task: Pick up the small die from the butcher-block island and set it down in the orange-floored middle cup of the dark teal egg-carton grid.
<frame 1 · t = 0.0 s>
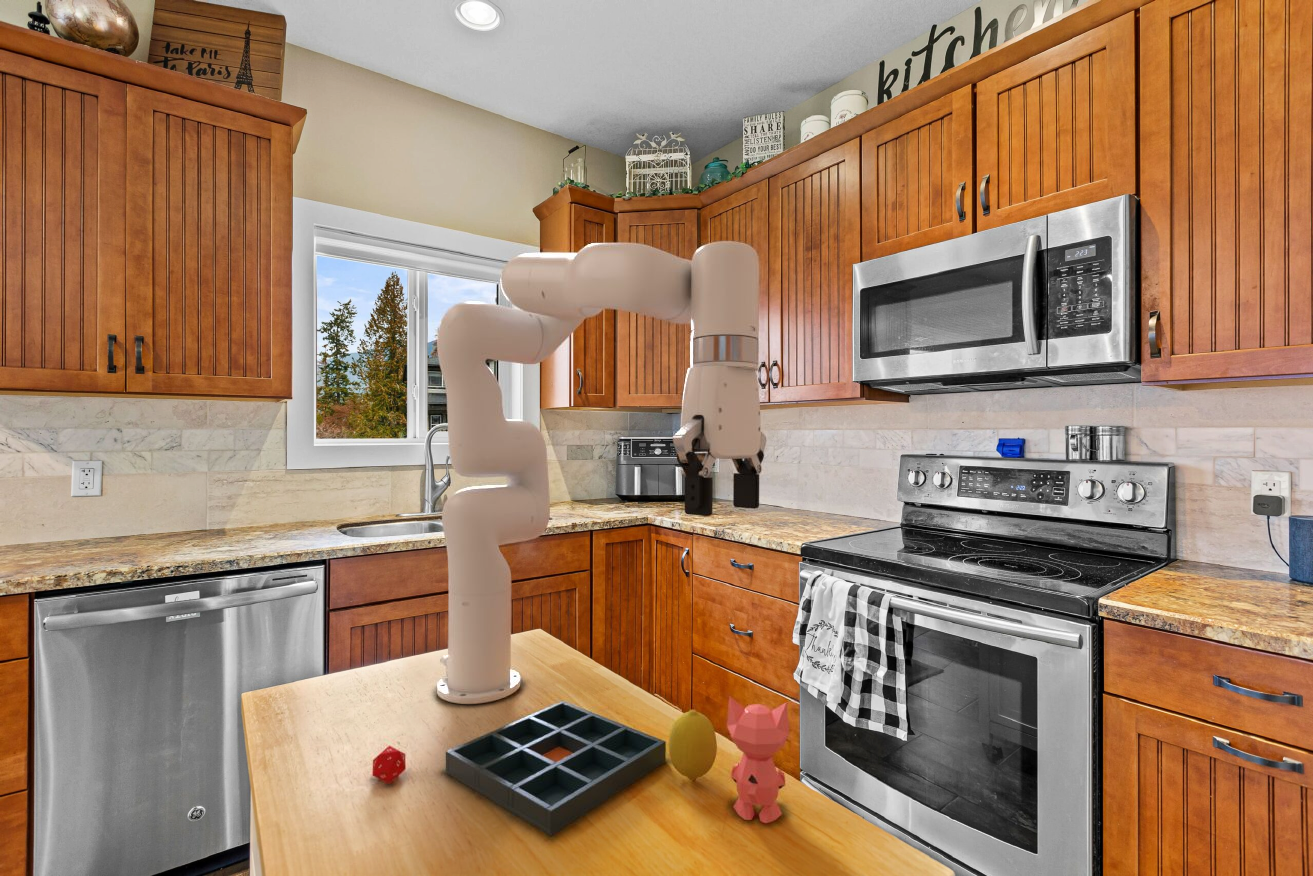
hand: (723, 511, 68), 31 cm above the countertop, tool pointing down, fingers open, 9 cm apart
cat figurine: (756, 816, 64), on the countertop
grid: (557, 767, 73), on the countertop
die: (389, 780, 70), on the countertop
lemon: (692, 781, 71), on the countertop
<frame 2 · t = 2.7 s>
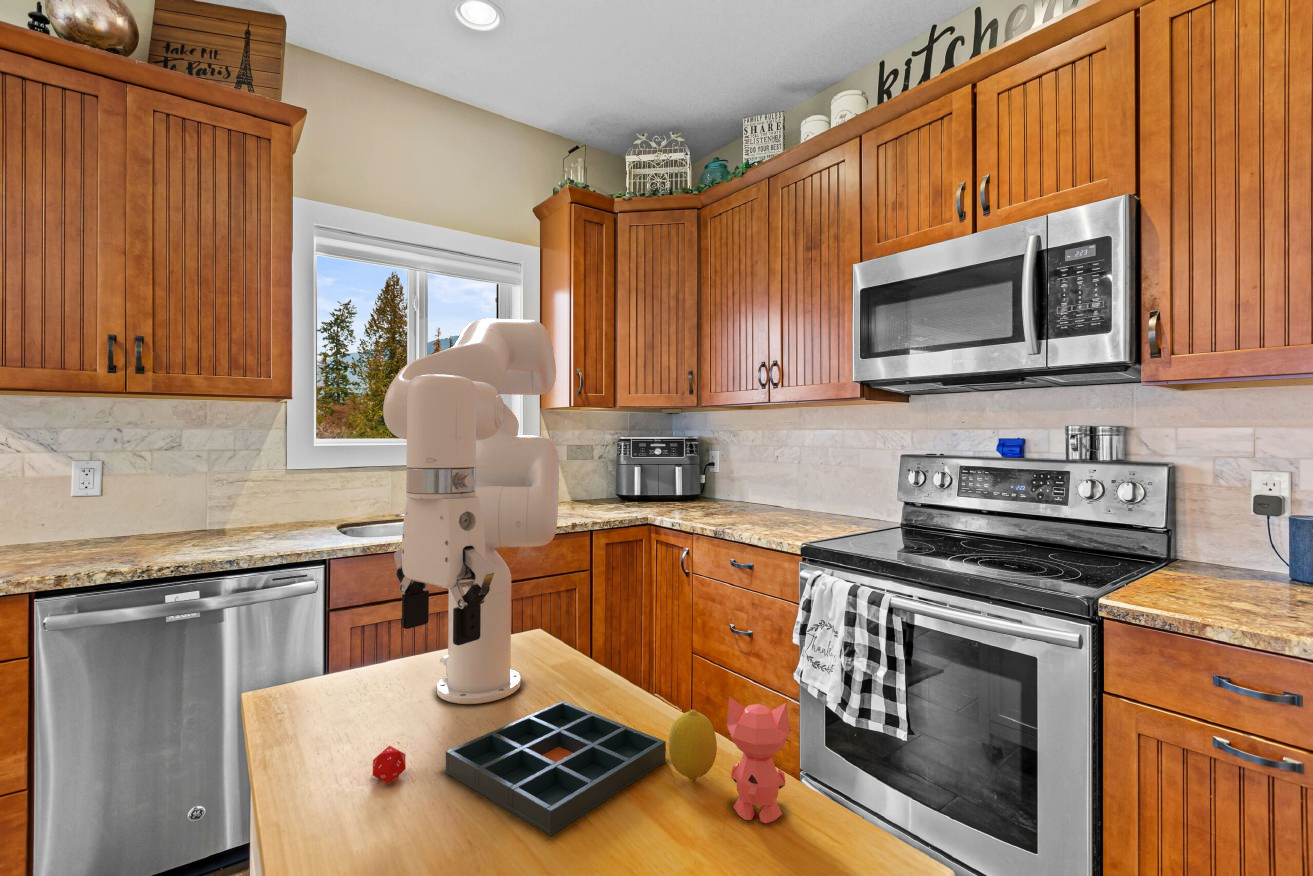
hand: (440, 633, 70), 17 cm above the countertop, tool pointing down, fingers open, 9 cm apart
nothing on the countertop moved.
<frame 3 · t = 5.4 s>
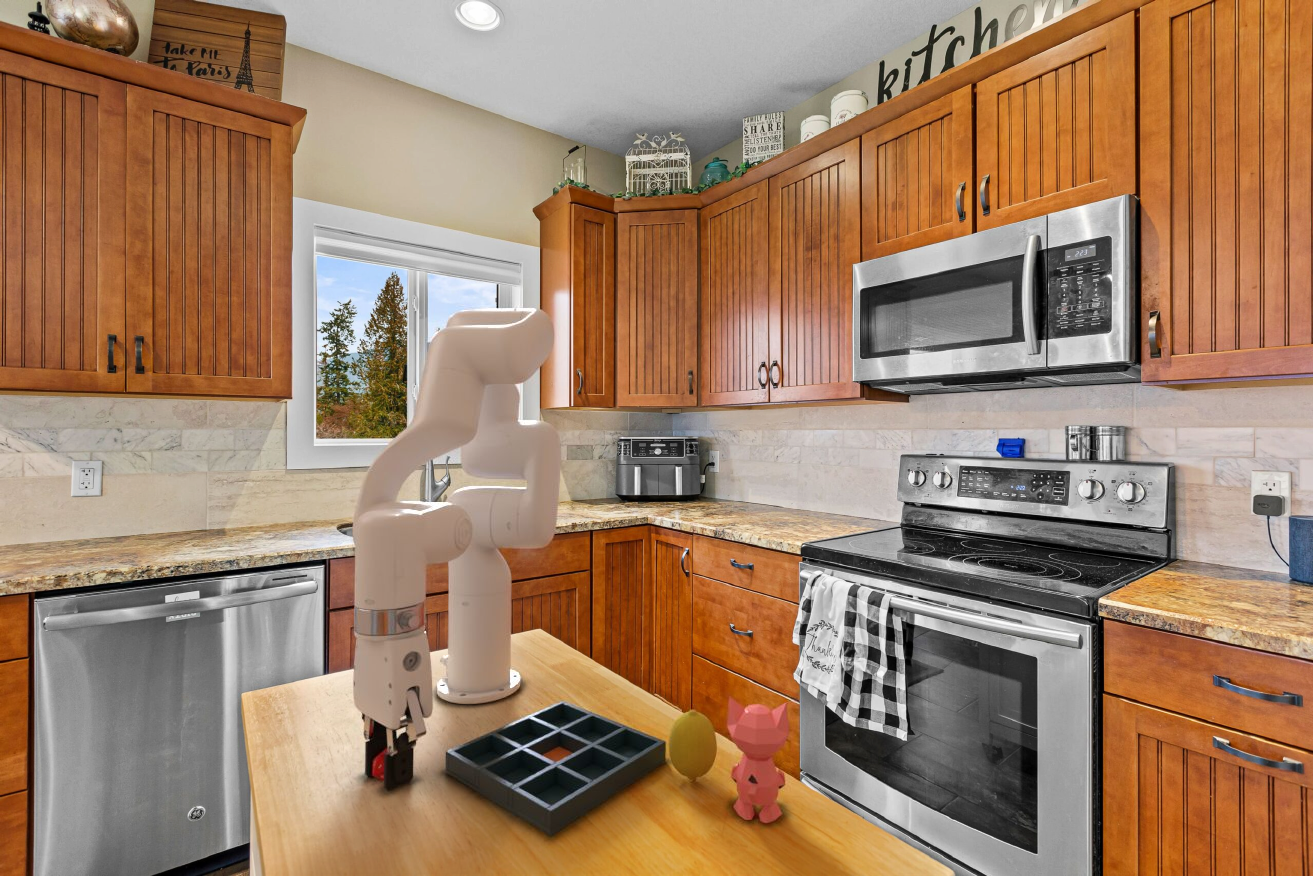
hand: (389, 776, 70), 0 cm above the countertop, tool pointing down, fingers closed on die, 3 cm apart
die: (389, 780, 70), on the countertop, touching gripper
everything else where it was.
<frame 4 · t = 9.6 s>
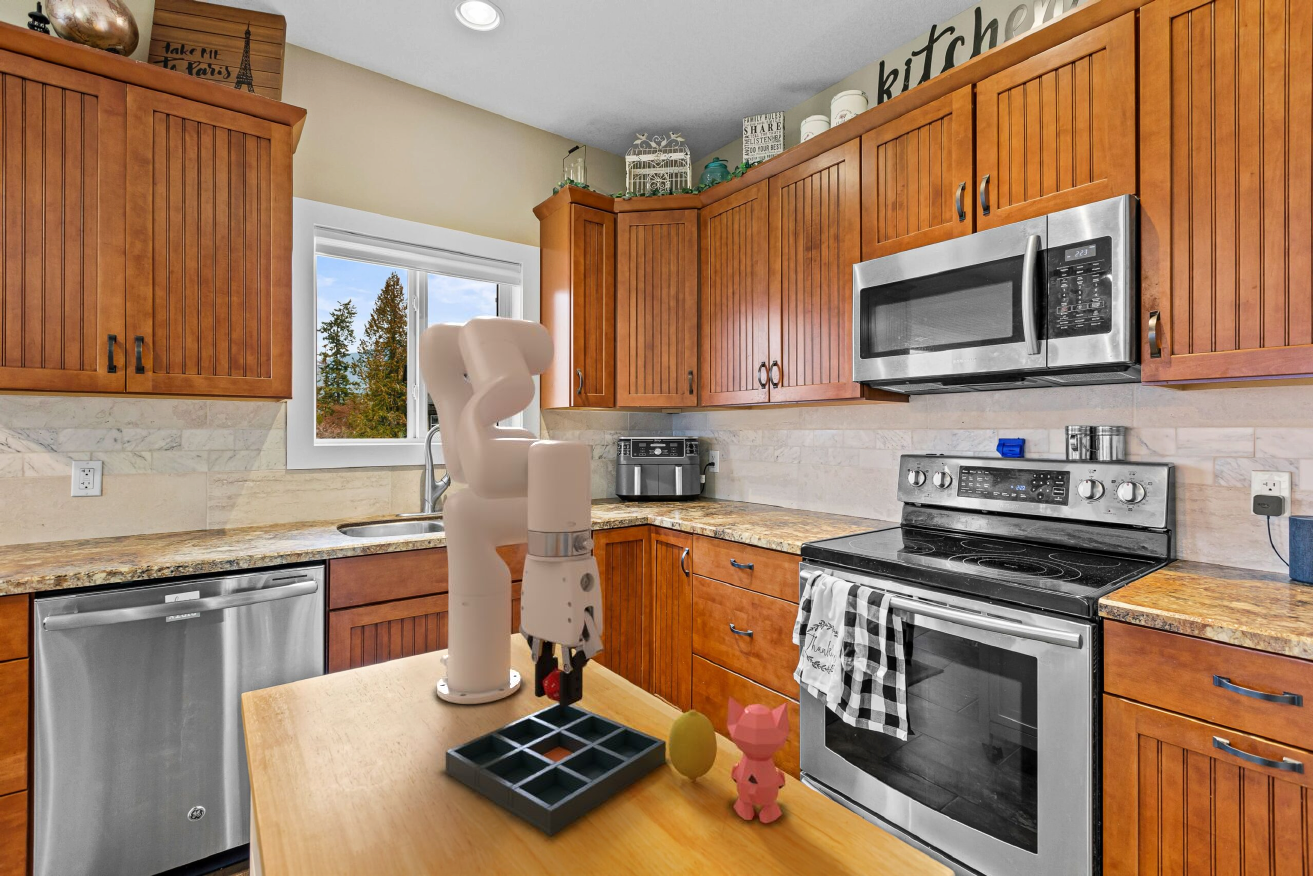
hand: (558, 696, 73), 8 cm above the countertop, tool pointing down, fingers closed on die, 3 cm apart
die: (558, 700, 73), point 8 cm above the countertop, touching gripper
everything else where it was.
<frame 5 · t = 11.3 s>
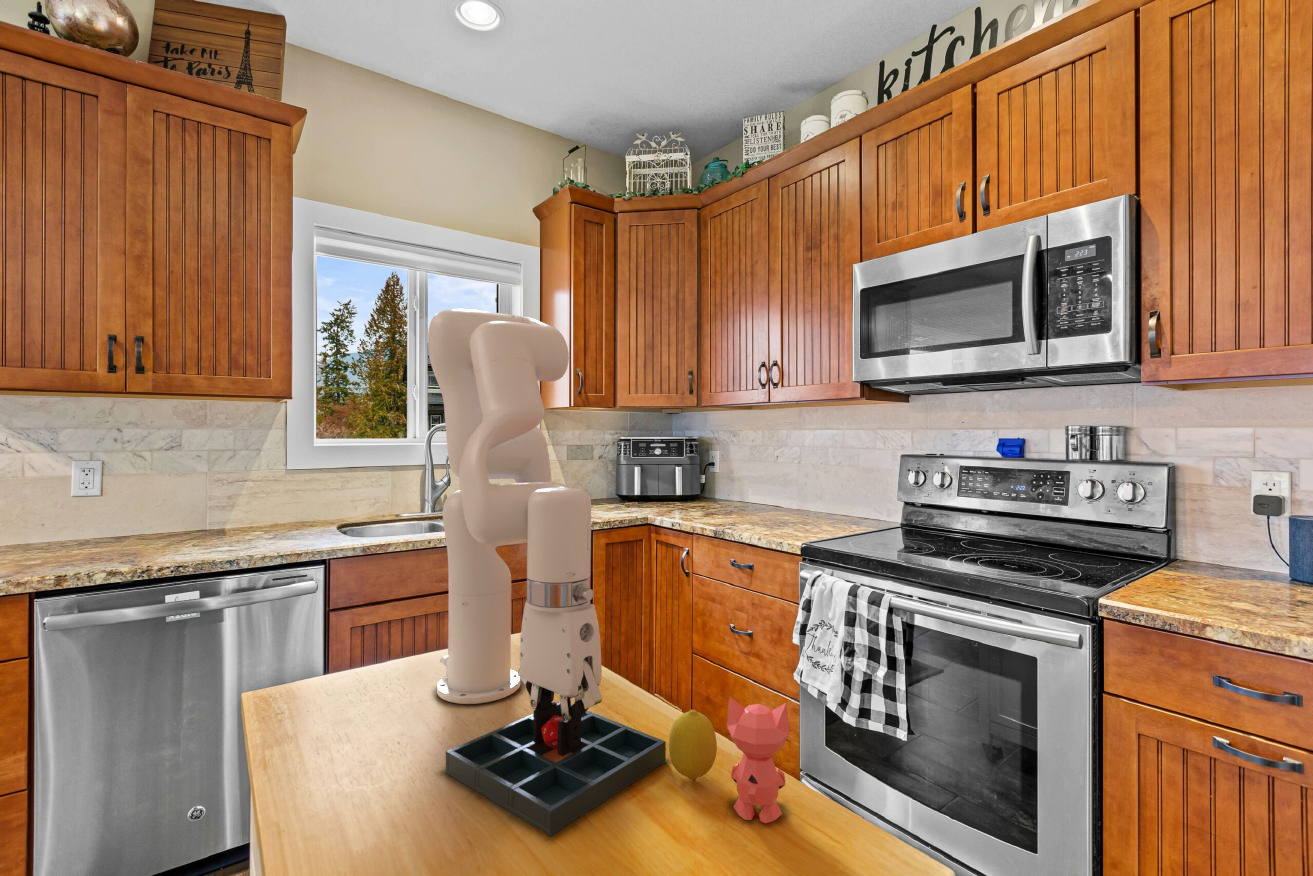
hand: (557, 743, 73), 3 cm above the countertop, tool pointing down, fingers closed on die, 3 cm apart
die: (556, 747, 73), point 2 cm above the countertop, touching gripper
everything else where it was.
when the fingers open (3 cm above the countertop, at t = 14.2 s): die drops 2 cm, resting on grid.
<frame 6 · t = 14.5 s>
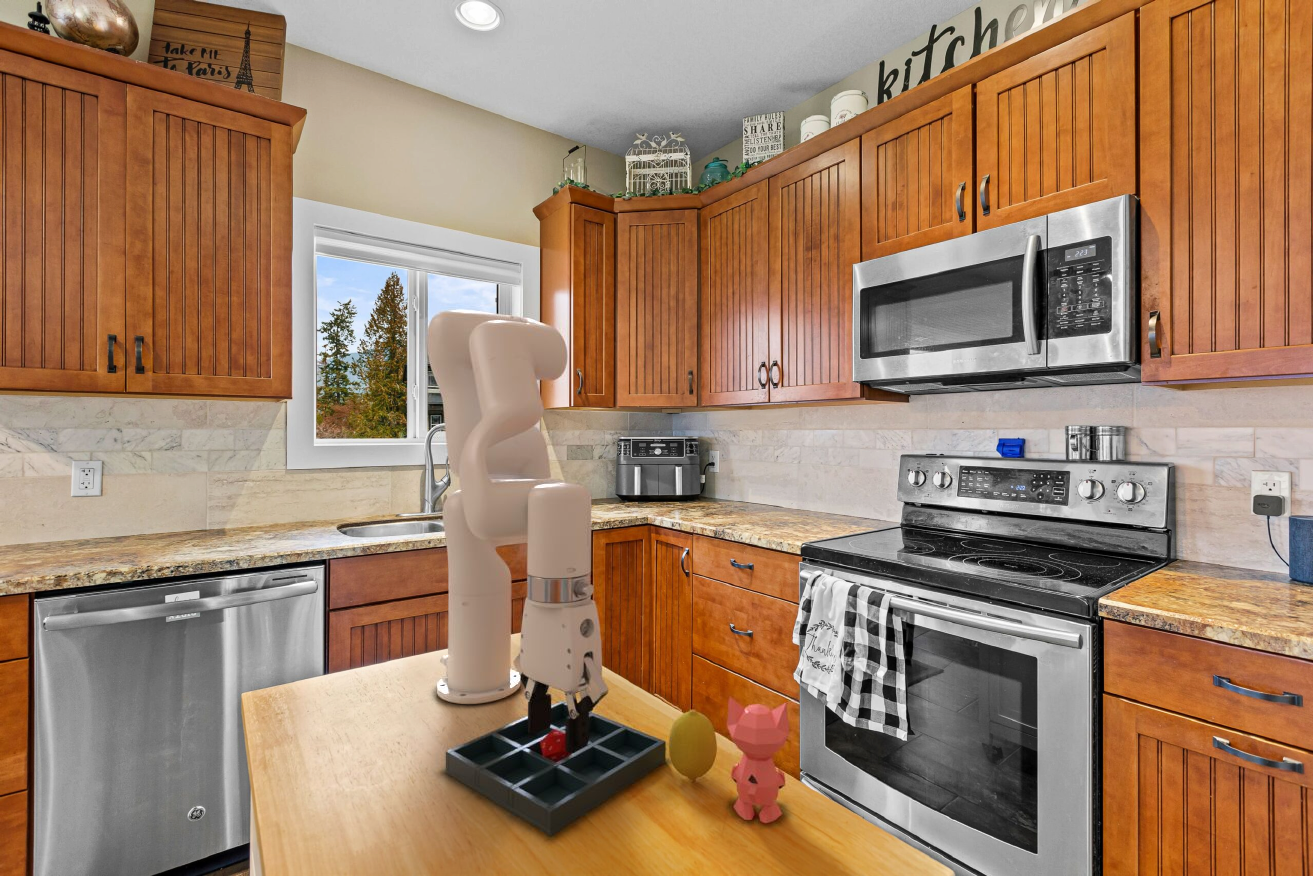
hand: (557, 737, 73), 4 cm above the countertop, tool pointing down, fingers open, 5 cm apart
die: (555, 762, 73), point 1 cm above the countertop, touching grid
everything else where it was.
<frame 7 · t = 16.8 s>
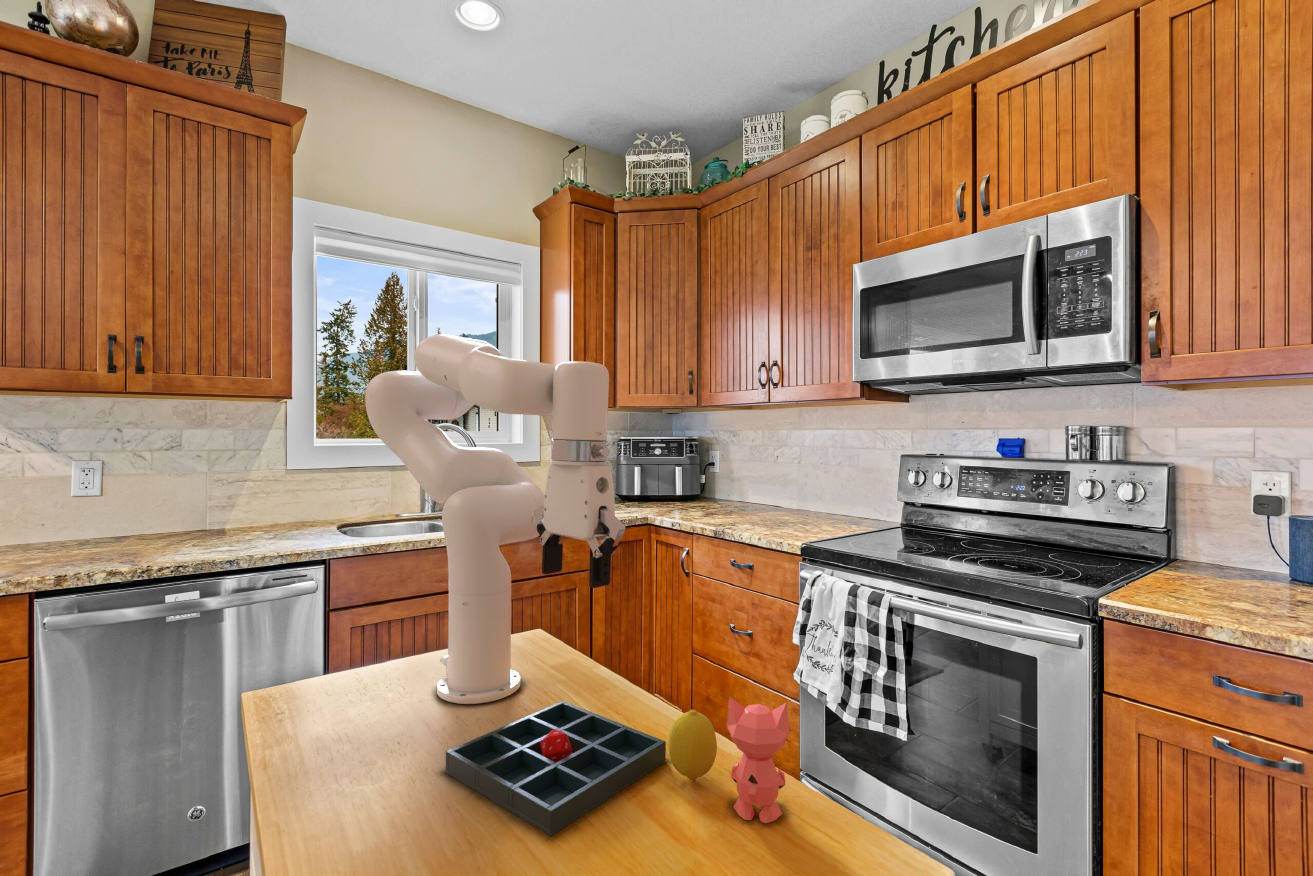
hand: (574, 579, 84), 20 cm above the countertop, tool pointing down, fingers open, 9 cm apart
nothing on the countertop moved.
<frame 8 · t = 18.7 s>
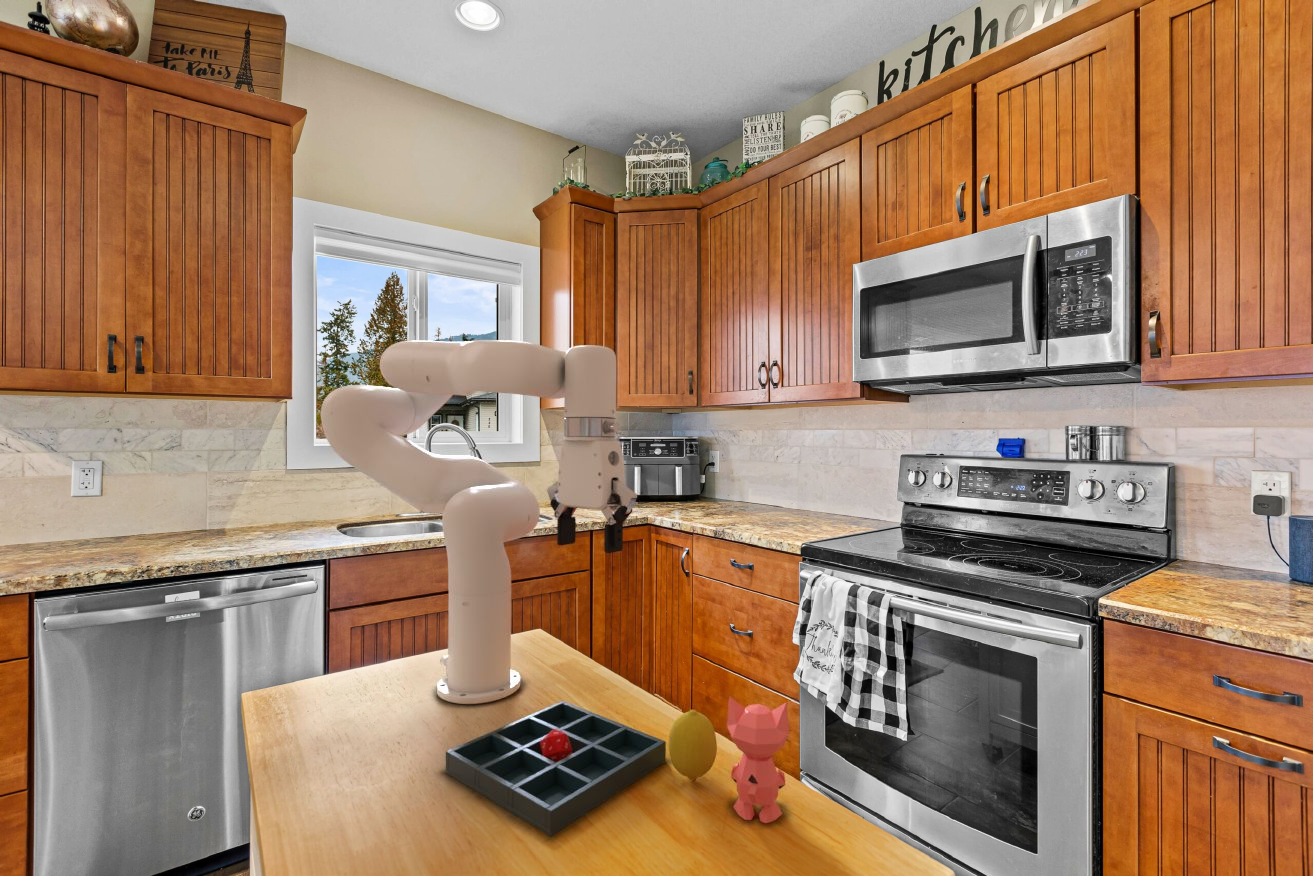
hand: (589, 547, 90), 23 cm above the countertop, tool pointing down, fingers open, 9 cm apart
nothing on the countertop moved.
at the end: die 0.3 cm off-centre in the grid, point 0.5 cm above the grid's base; the gripper is holding nothing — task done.
